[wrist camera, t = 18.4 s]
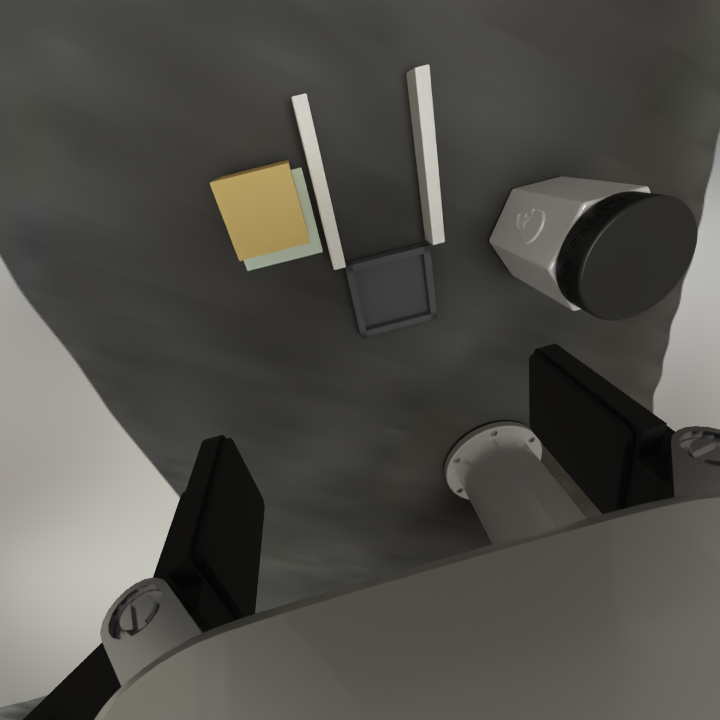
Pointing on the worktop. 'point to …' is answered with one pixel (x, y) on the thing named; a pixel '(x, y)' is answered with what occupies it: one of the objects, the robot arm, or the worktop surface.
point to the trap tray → (392, 289)
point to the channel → (424, 159)
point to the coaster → (296, 251)
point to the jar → (596, 243)
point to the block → (261, 210)
